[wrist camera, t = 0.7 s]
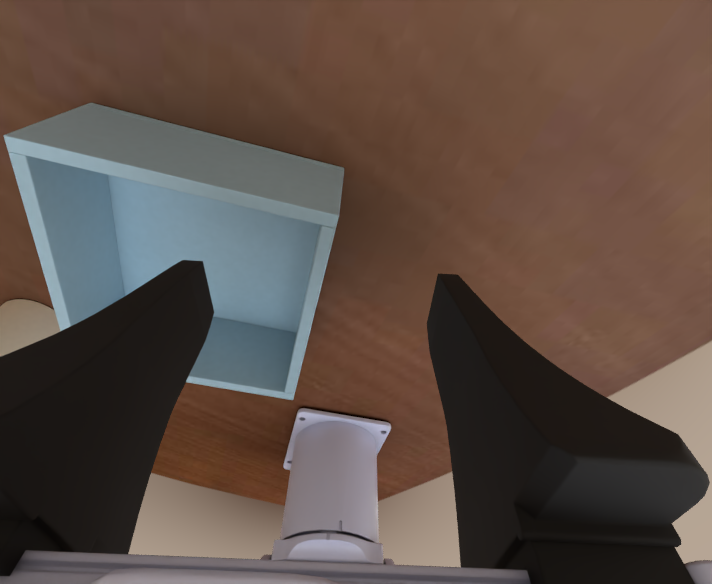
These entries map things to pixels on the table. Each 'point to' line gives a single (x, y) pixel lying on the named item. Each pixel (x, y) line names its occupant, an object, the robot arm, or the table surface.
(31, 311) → the paper roll
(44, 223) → the light blue open box
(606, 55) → the table surface
